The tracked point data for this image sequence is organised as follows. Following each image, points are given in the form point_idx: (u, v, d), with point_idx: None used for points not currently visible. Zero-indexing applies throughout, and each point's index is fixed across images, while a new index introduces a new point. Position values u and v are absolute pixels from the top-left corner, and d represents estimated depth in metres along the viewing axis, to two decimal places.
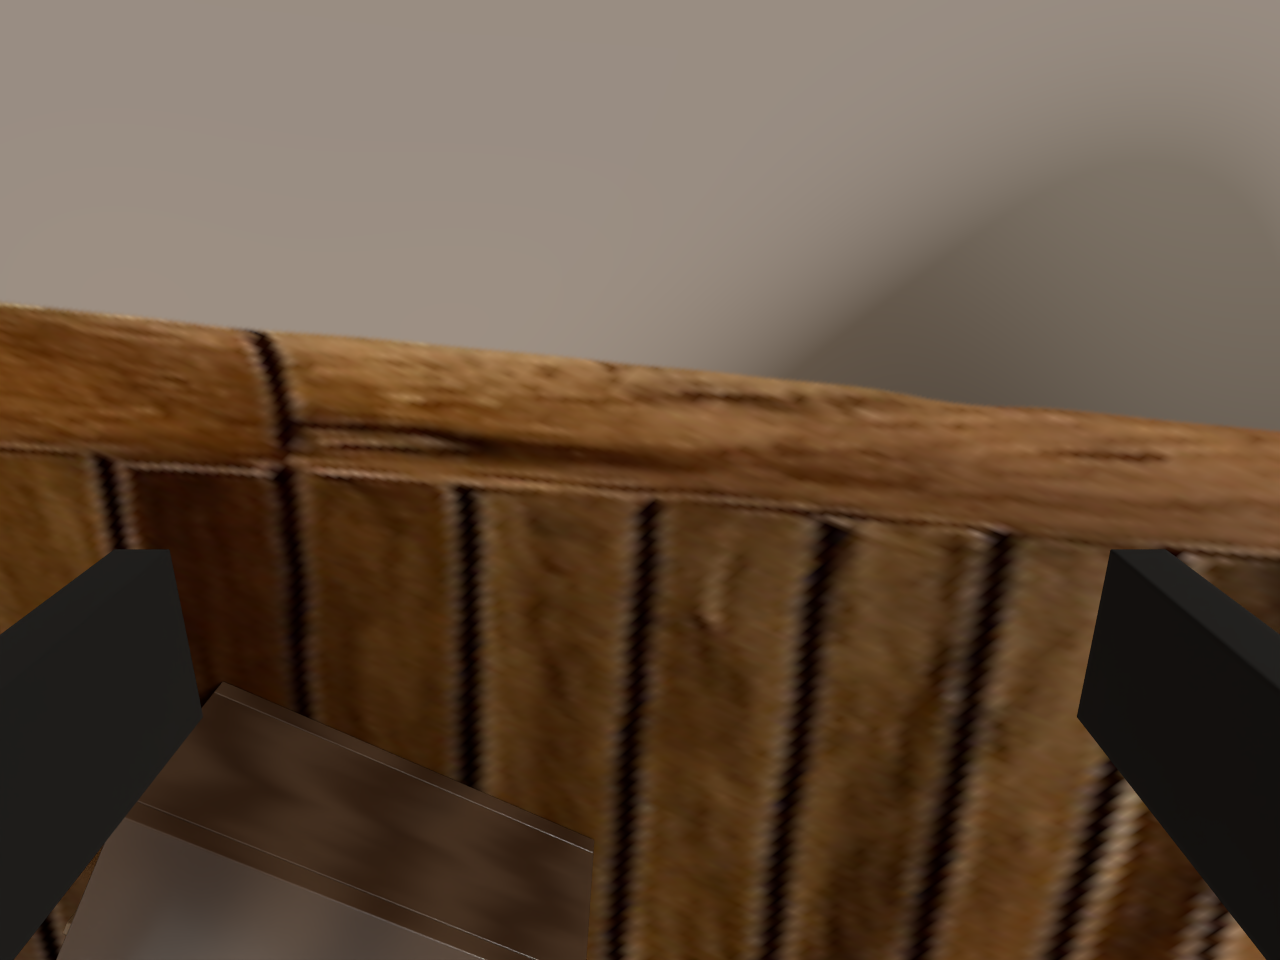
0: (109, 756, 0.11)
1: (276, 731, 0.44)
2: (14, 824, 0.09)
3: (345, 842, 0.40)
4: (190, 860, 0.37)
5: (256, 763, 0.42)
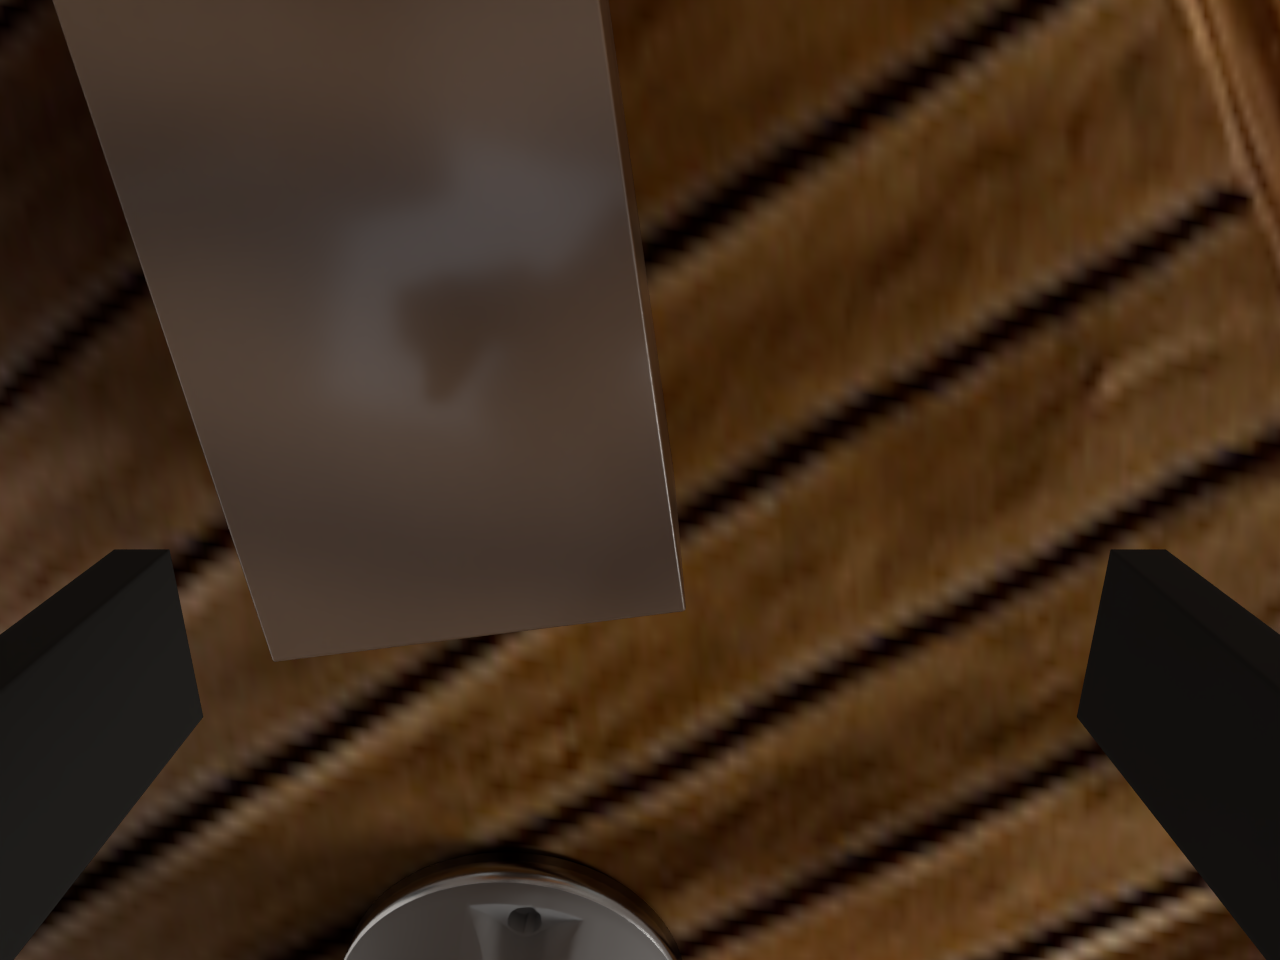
0: (109, 756, 0.11)
1: None
2: (14, 824, 0.09)
3: (614, 79, 0.21)
4: None
5: None
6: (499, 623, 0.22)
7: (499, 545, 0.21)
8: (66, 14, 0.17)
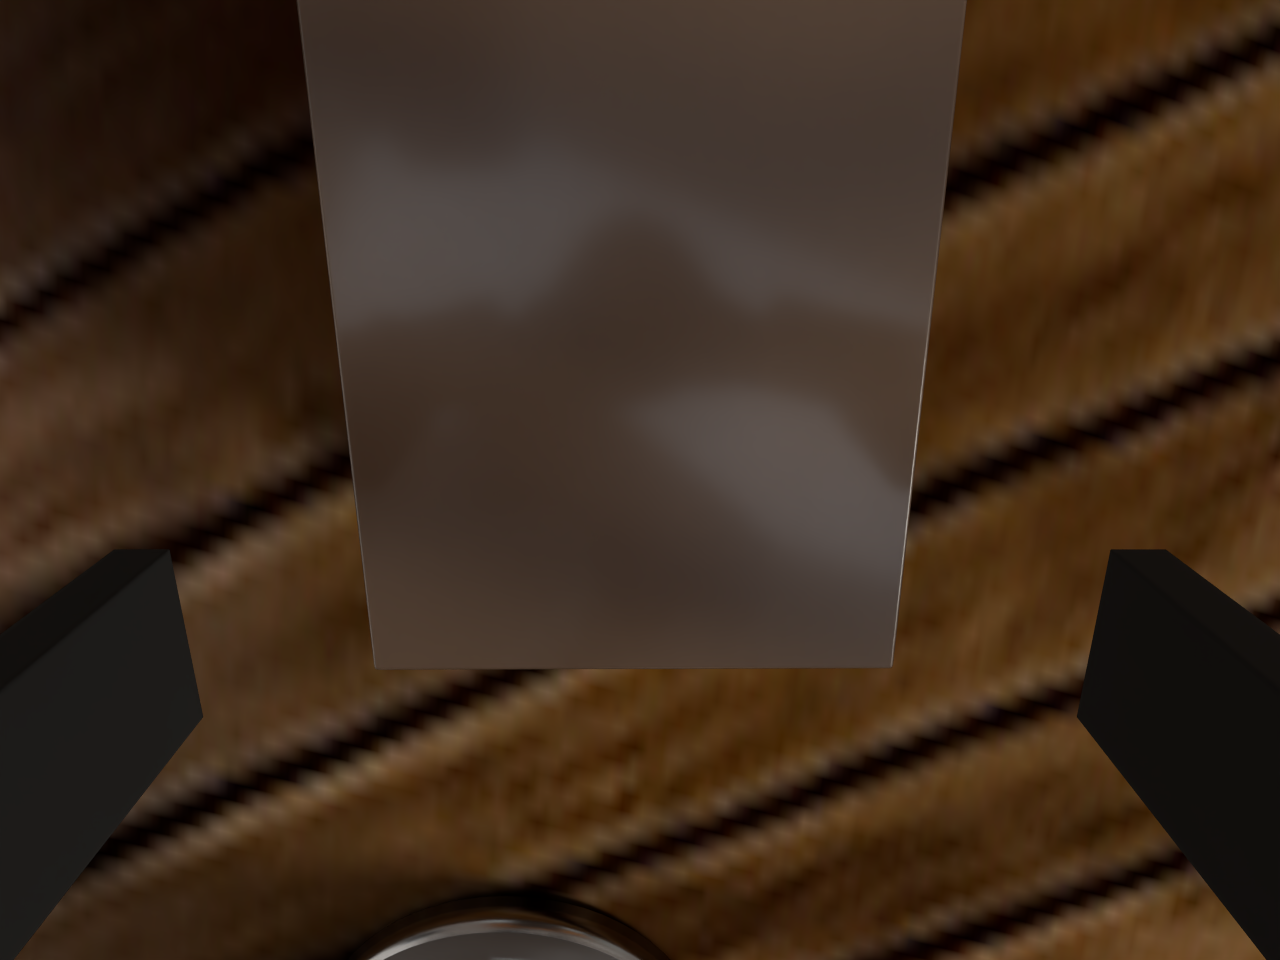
0: (109, 756, 0.11)
1: None
2: (14, 824, 0.09)
3: None
4: None
5: None
6: (666, 657, 0.18)
7: (688, 562, 0.17)
8: None
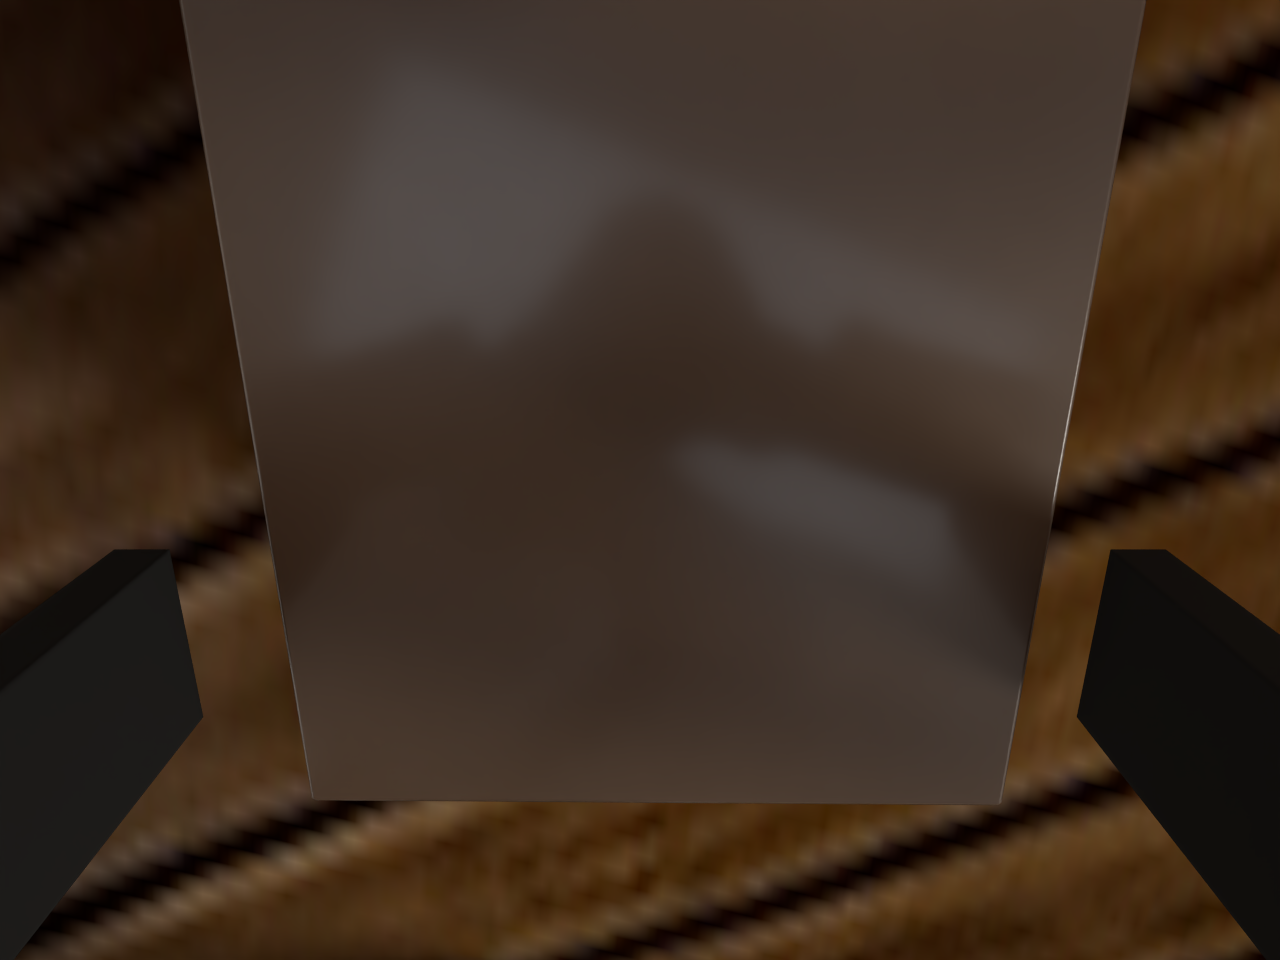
0: (109, 756, 0.11)
1: None
2: (14, 824, 0.09)
3: None
4: None
5: None
6: (698, 788, 0.14)
7: (730, 669, 0.13)
8: None
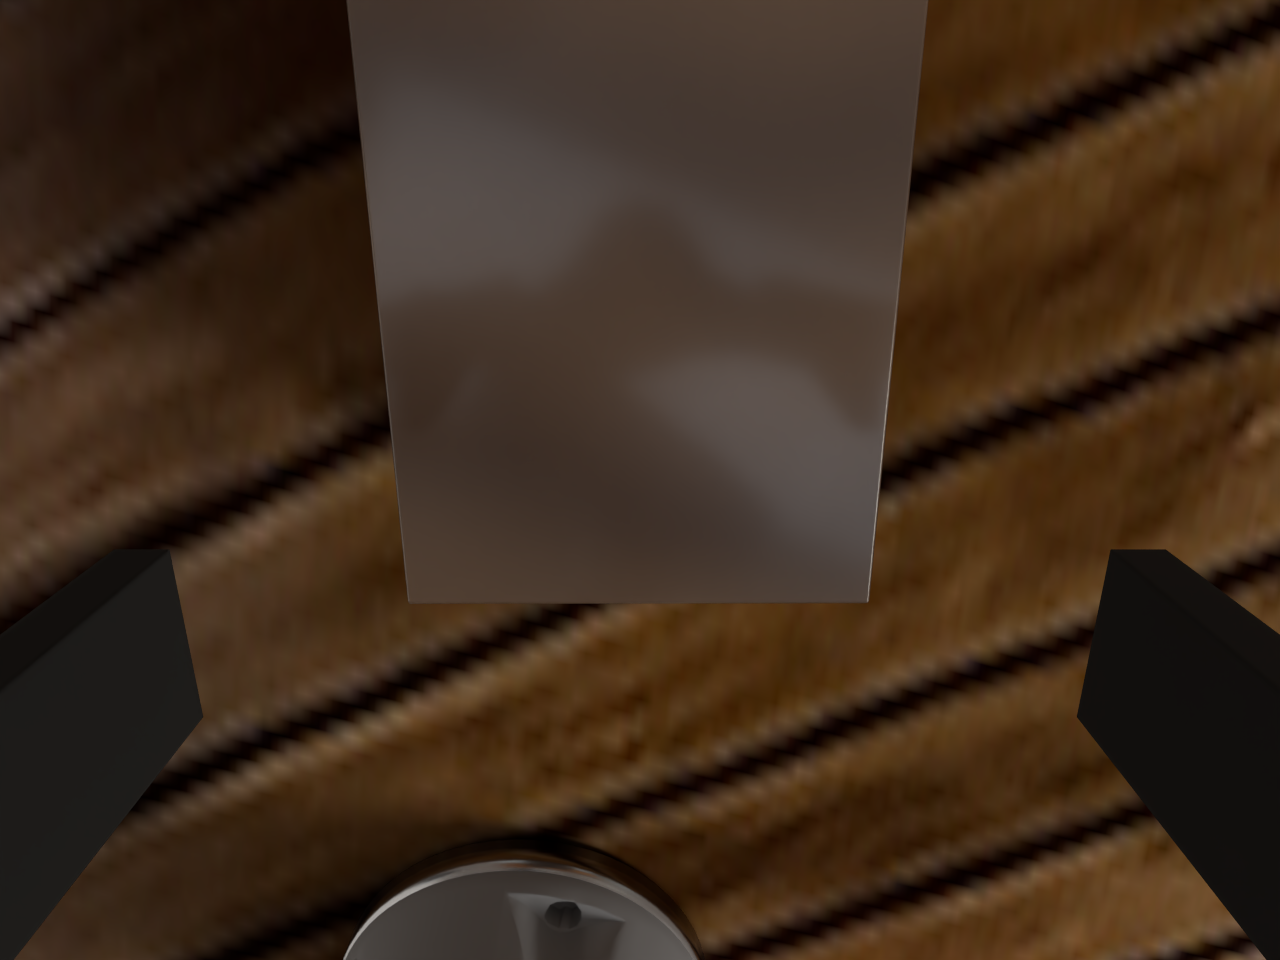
0: (109, 756, 0.11)
1: None
2: (13, 824, 0.09)
3: None
4: None
5: None
6: (667, 592, 0.20)
7: (686, 506, 0.20)
8: None
